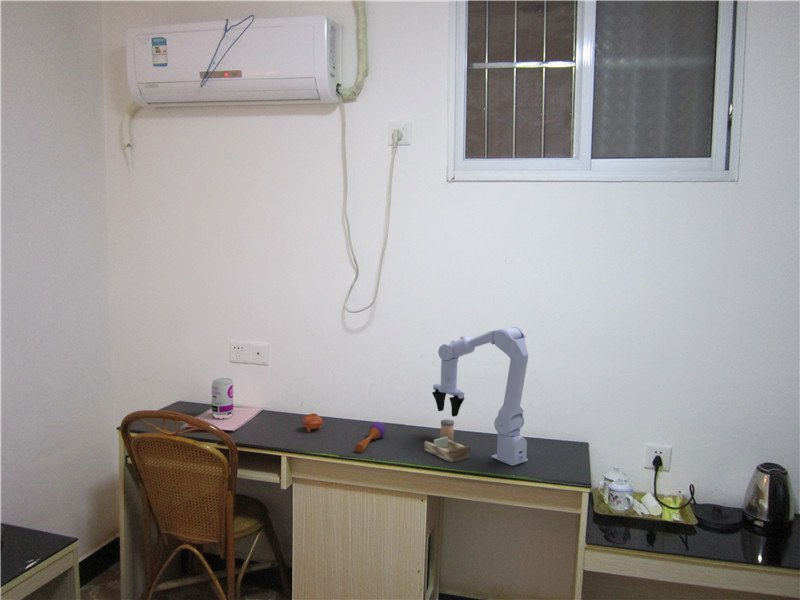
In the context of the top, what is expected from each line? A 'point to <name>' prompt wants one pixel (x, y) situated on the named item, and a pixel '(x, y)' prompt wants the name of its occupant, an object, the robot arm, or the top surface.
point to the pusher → (441, 442)
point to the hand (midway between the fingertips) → (447, 413)
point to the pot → (312, 421)
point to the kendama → (371, 435)
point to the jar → (447, 429)
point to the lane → (448, 451)
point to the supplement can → (222, 396)
